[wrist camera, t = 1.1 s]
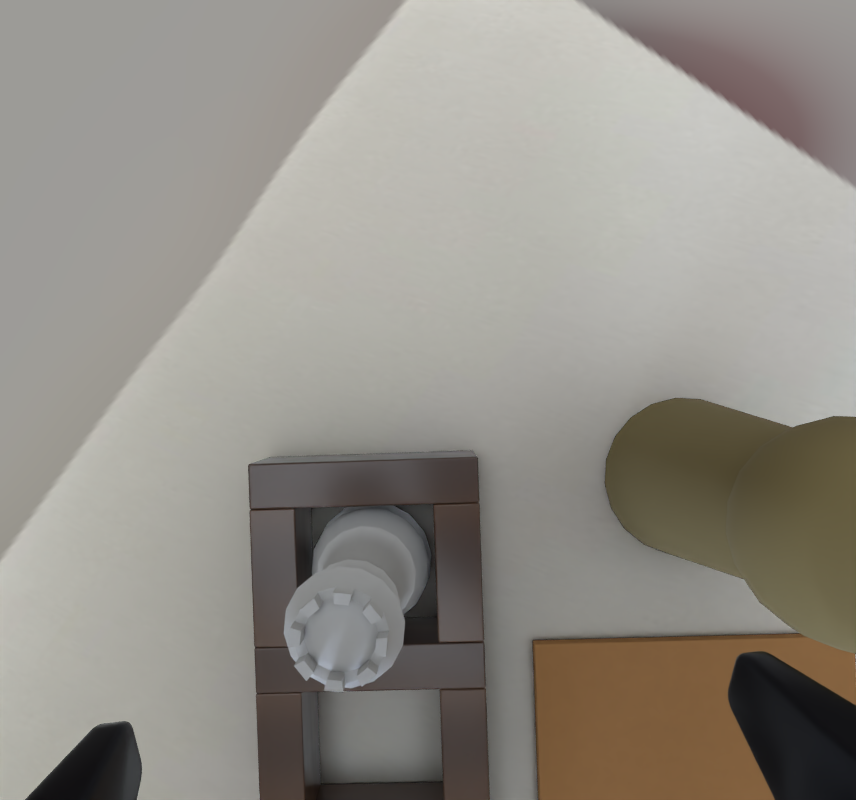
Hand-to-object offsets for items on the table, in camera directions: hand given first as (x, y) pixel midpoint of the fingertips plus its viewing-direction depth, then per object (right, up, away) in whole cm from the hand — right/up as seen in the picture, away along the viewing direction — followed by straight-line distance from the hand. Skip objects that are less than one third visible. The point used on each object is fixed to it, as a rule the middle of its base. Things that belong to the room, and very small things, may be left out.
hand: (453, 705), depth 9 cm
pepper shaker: (+9, +2, +14) cm, 17 cm away
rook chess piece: (-2, -2, +14) cm, 15 cm away
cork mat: (+10, -11, +14) cm, 20 cm away
